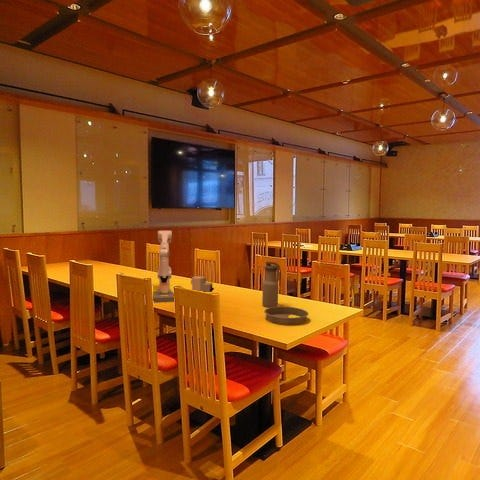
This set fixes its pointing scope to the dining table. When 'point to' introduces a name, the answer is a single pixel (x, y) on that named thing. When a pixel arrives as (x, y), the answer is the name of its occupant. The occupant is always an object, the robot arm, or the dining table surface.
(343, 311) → the dining table surface
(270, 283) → the water bottle
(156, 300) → the panel
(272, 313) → the cake pan
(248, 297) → the dining table surface
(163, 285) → the toggle lever
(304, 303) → the dining table surface
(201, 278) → the circuit breaker
